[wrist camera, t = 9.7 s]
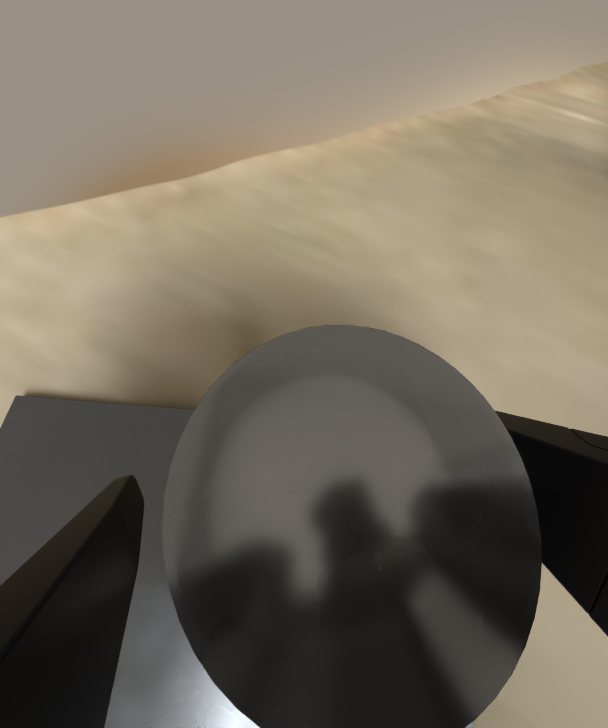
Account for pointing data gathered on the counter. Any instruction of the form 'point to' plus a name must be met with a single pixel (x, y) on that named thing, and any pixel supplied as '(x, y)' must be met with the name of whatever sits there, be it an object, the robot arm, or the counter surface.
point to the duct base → (151, 590)
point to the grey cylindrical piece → (351, 536)
